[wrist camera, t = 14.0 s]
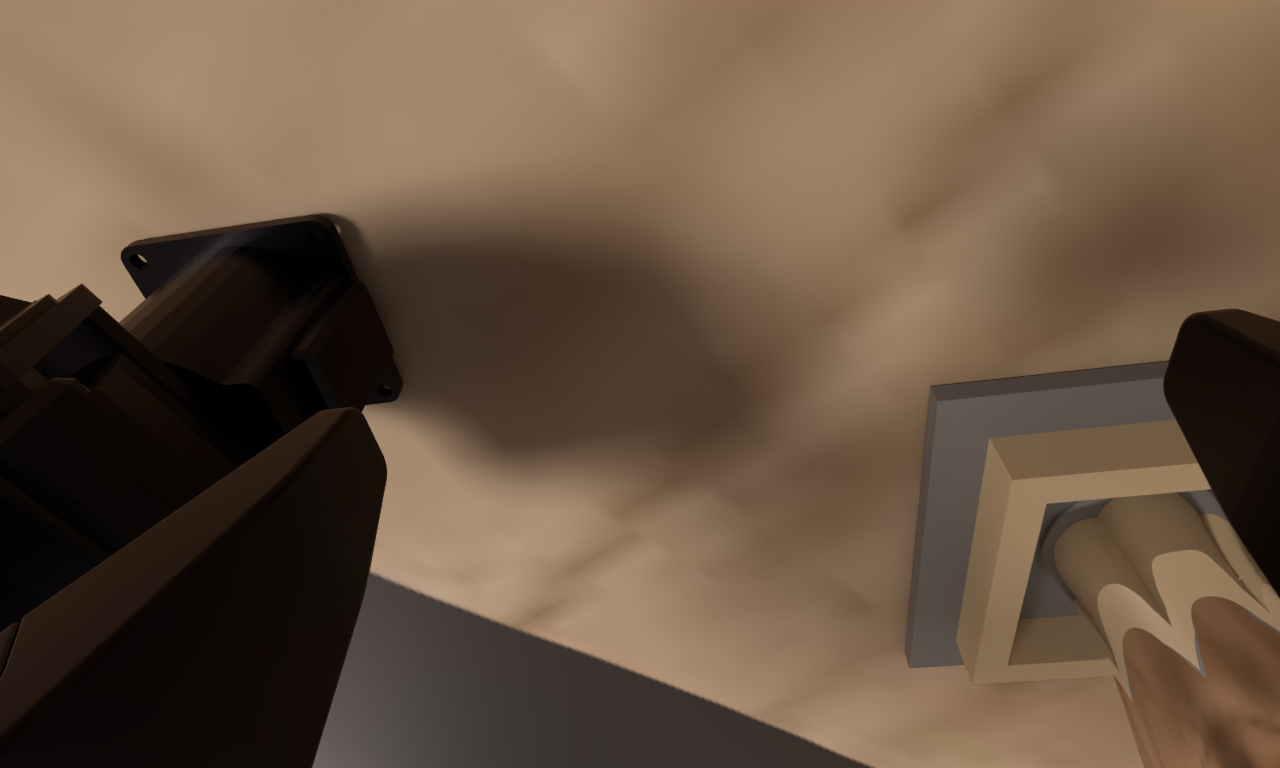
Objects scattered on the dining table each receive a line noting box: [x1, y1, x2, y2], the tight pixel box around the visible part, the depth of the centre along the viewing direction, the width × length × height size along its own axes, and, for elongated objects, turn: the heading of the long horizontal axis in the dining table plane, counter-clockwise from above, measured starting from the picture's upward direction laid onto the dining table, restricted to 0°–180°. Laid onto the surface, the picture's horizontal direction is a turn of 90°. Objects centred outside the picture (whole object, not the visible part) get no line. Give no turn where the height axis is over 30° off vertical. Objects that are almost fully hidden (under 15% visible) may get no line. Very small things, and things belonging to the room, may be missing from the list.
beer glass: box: [1041, 490, 1280, 768], centre depth 21 cm, size 7×7×15 cm
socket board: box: [905, 361, 1261, 685], centre depth 26 cm, size 15×15×3 cm
